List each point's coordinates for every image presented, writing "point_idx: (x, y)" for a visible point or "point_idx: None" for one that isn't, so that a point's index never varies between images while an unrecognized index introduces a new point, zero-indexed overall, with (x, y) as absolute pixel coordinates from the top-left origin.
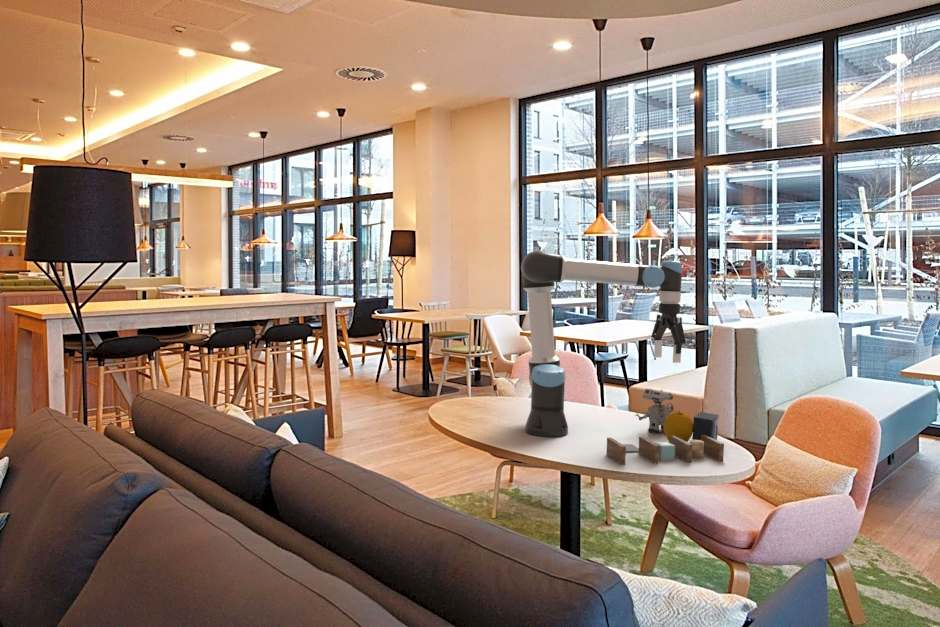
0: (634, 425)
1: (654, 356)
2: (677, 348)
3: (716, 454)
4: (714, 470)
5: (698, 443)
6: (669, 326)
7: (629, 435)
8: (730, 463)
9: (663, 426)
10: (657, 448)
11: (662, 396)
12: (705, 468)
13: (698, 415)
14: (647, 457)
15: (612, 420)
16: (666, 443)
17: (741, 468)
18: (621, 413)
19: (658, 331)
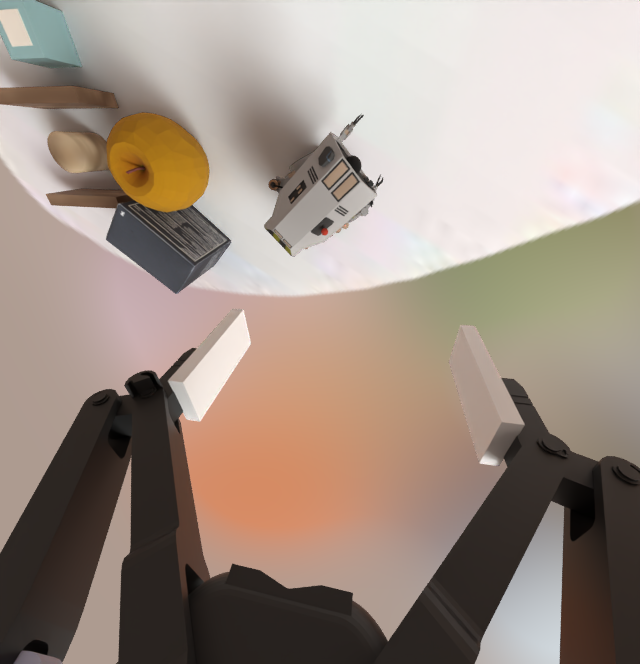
0: (411, 144)
1: (469, 328)
2: (172, 371)
3: (80, 190)
4: (6, 133)
5: (49, 147)
6: (126, 579)
7: (287, 44)
8: None
9: (164, 118)
10: None
11: (278, 204)
12: (11, 118)
13: (140, 229)
14: None
15: (512, 83)
16: (19, 36)
17: (48, 204)
18: (592, 187)
19: (489, 529)
